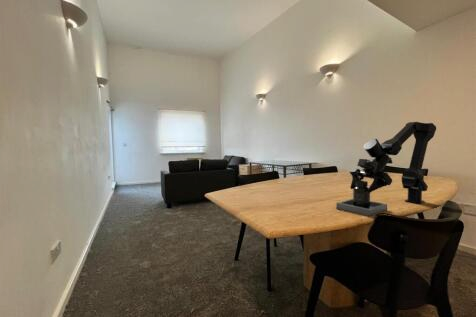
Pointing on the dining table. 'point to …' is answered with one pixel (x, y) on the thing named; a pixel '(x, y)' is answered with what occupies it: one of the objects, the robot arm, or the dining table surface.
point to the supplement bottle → (361, 195)
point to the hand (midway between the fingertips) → (359, 190)
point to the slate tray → (373, 210)
